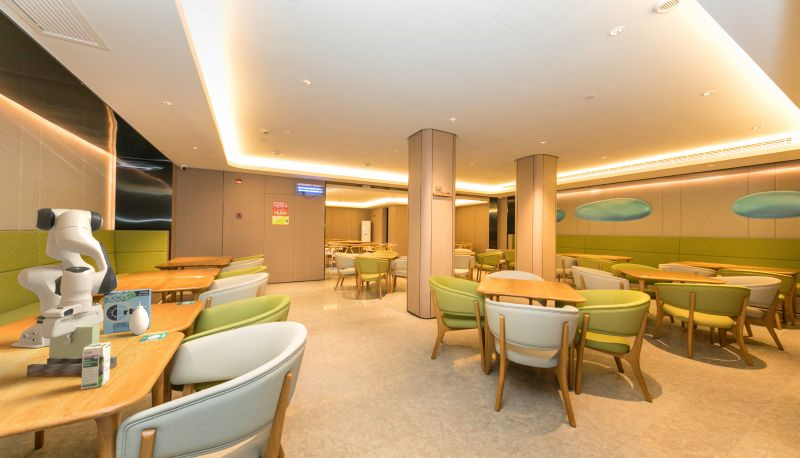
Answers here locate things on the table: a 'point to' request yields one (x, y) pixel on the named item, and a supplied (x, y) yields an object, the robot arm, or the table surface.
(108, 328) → the gum box
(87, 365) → the syrup box
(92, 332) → the door panel
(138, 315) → the white air blower bulb
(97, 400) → the table surface
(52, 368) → the track
